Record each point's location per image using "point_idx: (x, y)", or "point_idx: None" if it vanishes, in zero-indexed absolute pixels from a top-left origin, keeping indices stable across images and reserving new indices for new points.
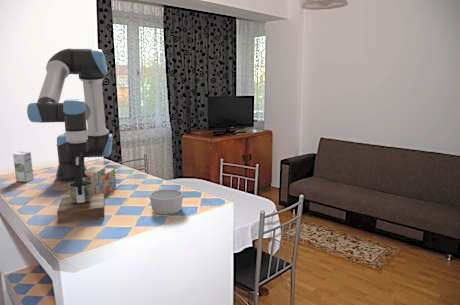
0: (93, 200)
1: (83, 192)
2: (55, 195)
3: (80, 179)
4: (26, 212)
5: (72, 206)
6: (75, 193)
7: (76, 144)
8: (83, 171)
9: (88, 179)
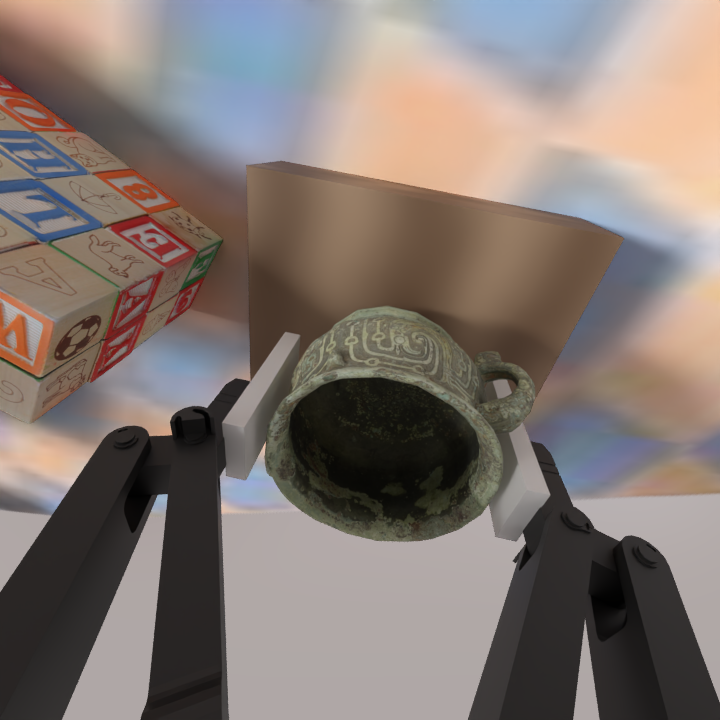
0: (397, 285)
1: (527, 440)
2: (85, 393)
3: (680, 645)
4: (282, 497)
5: None
6: (460, 468)
7: None
8: (217, 518)
9: (91, 322)
